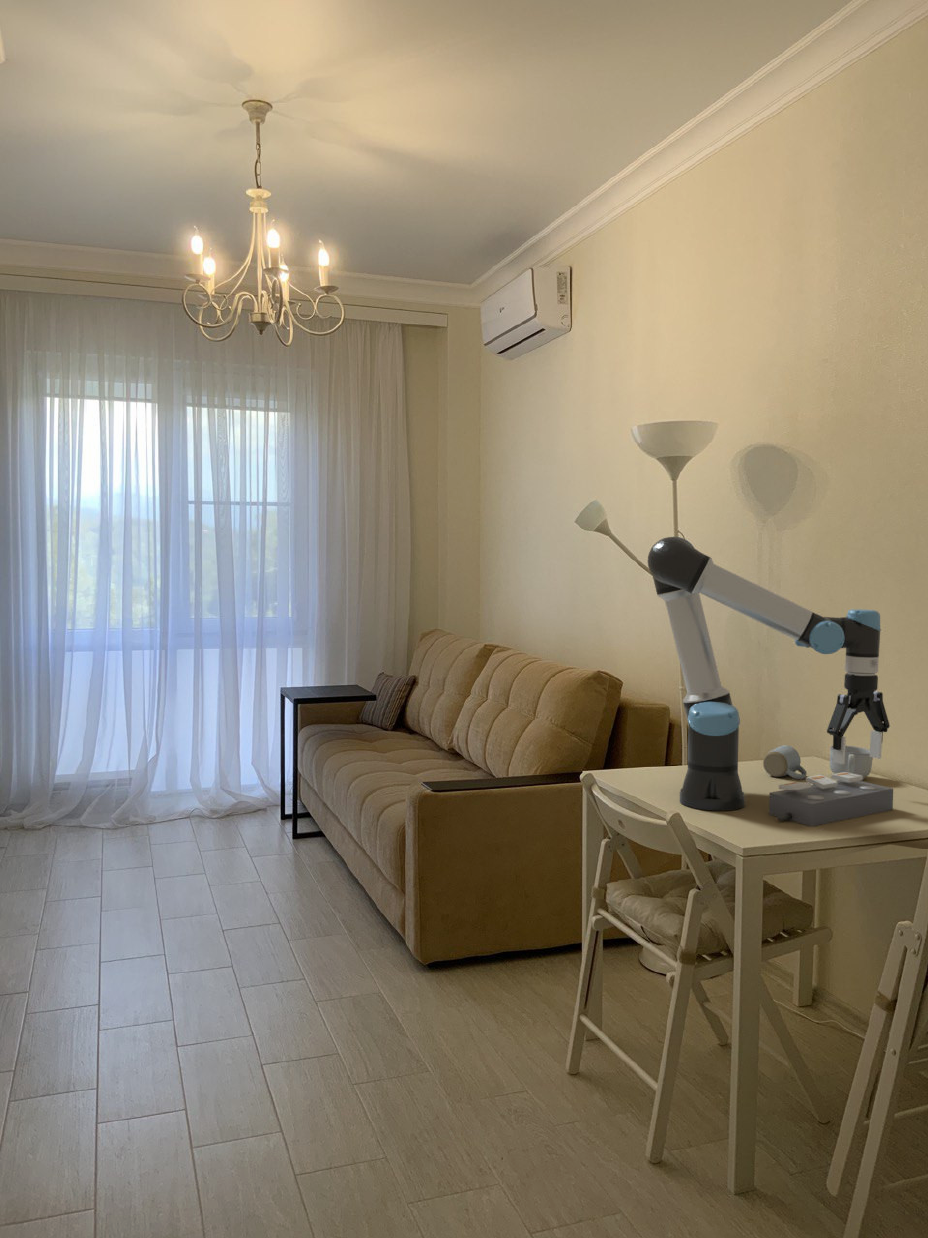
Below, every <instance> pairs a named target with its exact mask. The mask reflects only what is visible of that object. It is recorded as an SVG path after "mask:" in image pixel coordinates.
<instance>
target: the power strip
mask: <svg viewBox="0 0 928 1238" xmlns="http://www.w3.org/2000/svg"><path fill="white" fill-rule="evenodd" d="M835 781H836V782H838V784H837V786H836V787H831V788H825V789H822V788H820V787H817V786H814V785H813V784H811V788H805V789H799V790H791V791H787V790H783V789H781V790H778V791H772V792H769V797H768V798H769V800H768V801H769V802H768V803H769V804H768V805H769V806H768V814H769V815H770V816H774V817H777V820H778V821H787V820H788V821H791V822H795V823H798V824H802V825H805V826H808V827H815V826H820V825H826V824H831V823H836V822H839V821H845V820H850V819H855V818H859V817H865V816H869V815H873V814H878V813H883V812H888V811H892V810H893V807H894V788H892V787H888V786H883V785H879V784H876V783H871V782H866V781H864V780H860V781H855V782H844V781H842V782H840V781H839V780H835Z"/></svg>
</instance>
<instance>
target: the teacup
mask: <svg viewBox="0 0 928 1238" xmlns="http://www.w3.org/2000/svg"><path fill="white" fill-rule="evenodd" d="M829 749H830V751H829V768H830V771H831V772H832V773H833V774H836V773H842V772H847V773H852V774H857V775H861V776H863V780H864V779H865V778H866V777H868V776H869V775H870V773H871V772H872V766H873V759H874V758H873V757H870V748H869V749H868V748H865V747H859V746H854V745H845V764H839V763H835V762H833V753H834V749H833V745H831V746H830V747H829Z"/></svg>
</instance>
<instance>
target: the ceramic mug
mask: <svg viewBox="0 0 928 1238" xmlns="http://www.w3.org/2000/svg"><path fill="white" fill-rule="evenodd" d="M801 762H802V761H801V756H800V753H799V752H798V751H797V749H795V748H794V747H792V746H791V745H787V744H784V745H783V744H782V745H780V746H778V747H776V748H773V749H772V750H769V751H768V752H767V753H766V754H765V756H764V757H763V760H762V765H763V769H764V771H765V772H766V773H767V775H770V776H771V777H775V778H781V777H782V778H783V777H786V776H790V777H792V778H794V779H796V780H804V779H806V777H807V770H806V769H805V768H804V767H803V766H801ZM797 772H799V773H797Z"/></svg>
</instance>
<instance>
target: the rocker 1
mask: <svg viewBox="0 0 928 1238" xmlns="http://www.w3.org/2000/svg"><path fill="white" fill-rule="evenodd" d="M811 785H812V784H811V783H809V782H796V781H795V782H788V783H787V782H786V783H781V784H778V789H779V790H787V791H791V790H799V789H805V788H811Z"/></svg>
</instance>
